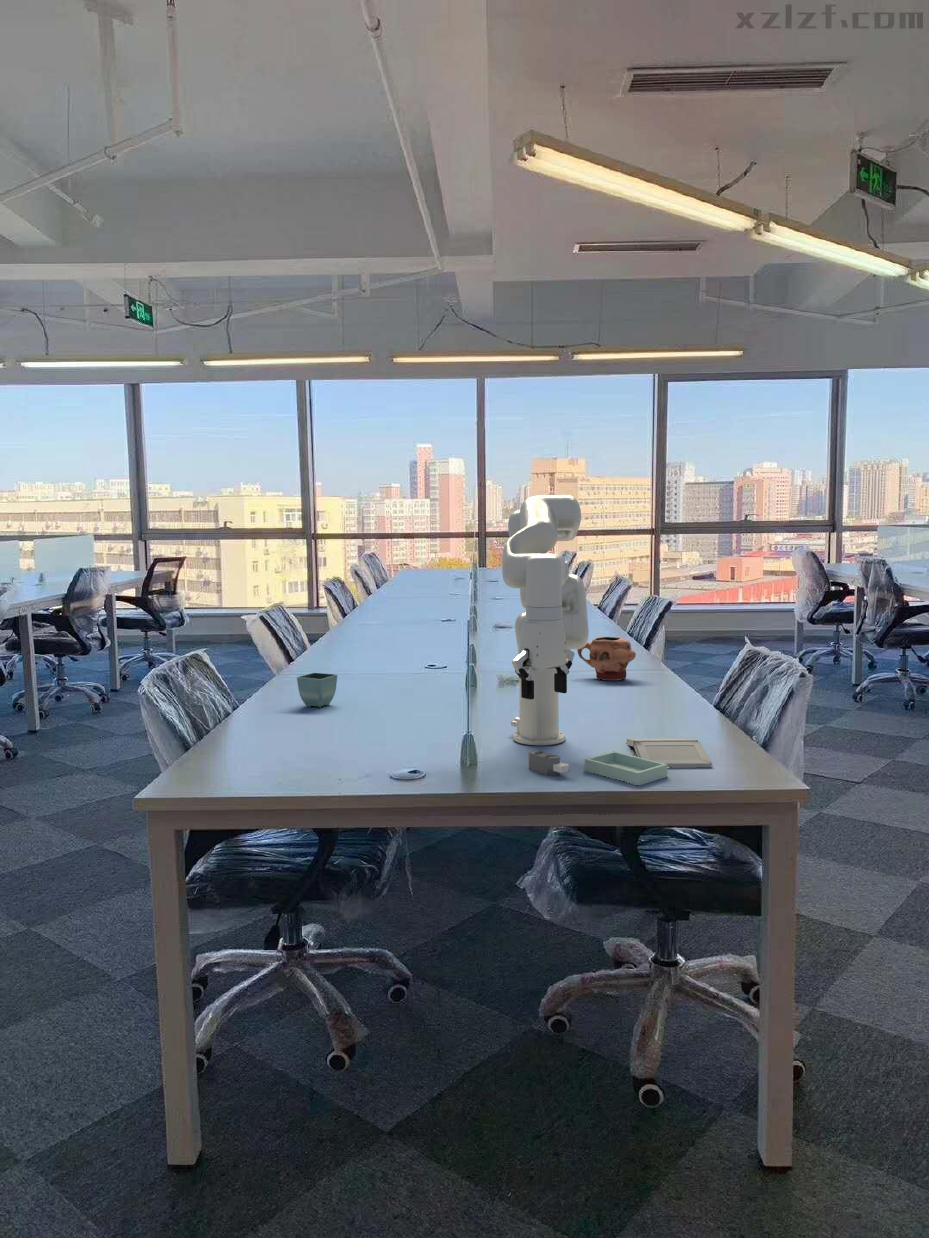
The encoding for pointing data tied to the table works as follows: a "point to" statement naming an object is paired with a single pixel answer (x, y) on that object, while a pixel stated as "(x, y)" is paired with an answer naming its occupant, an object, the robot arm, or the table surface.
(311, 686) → the flower pot
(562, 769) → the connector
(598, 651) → the sculpted clay mug
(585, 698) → the table surface
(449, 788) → the table surface
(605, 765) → the tray
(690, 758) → the gadget
